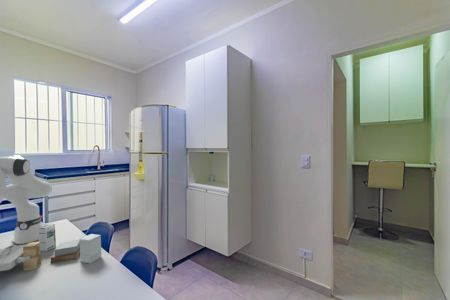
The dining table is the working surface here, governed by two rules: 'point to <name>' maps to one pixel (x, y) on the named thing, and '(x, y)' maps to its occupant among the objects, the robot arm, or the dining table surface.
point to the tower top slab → (67, 247)
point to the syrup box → (47, 237)
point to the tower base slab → (65, 257)
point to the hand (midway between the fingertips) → (34, 254)
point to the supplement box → (90, 248)
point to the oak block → (32, 255)
